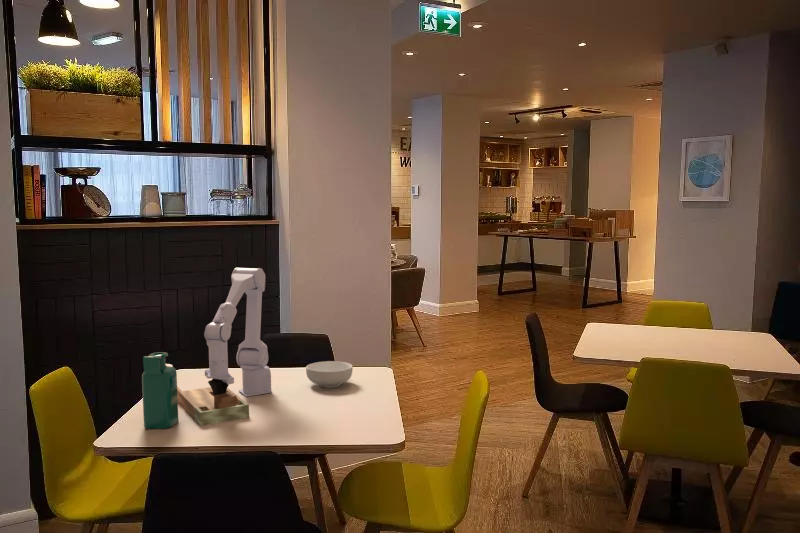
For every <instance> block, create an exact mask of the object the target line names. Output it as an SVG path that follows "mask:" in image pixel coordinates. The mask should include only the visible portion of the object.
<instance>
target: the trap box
mask: <svg viewBox="0 0 800 533" xmlns="http://www.w3.org/2000/svg"><path fill="white" fill-rule="evenodd" d="M227 392H228V393H231V394H234V395H236V397H237V406H232V407H226V408H220V409H215V408H214V394H213V391H212V388H211V386H208V387H203V388H195V389H189V390H181V388H180V387H178V386H177V397H178V404H180V406H181V407H182V408H183V409H184V411H186V412H187V413H188V414H189V415H190V416H191V417H192V418H193V419H194V420H195V422H196V423H197V424H198V425H199V426H200V427H201V426H202V425H203V426H208V425H213V423H214V424H219V423H224V422H231V421H234V420H235V421H236V420H240V419H241V420H243V419H246V418H250V404H249V403H248V402H246V401H245V400H244V399H243V398H241V397H240V396H239V395H238V394H236V393H235V392H233V391H232V390H231V389H230V388H228V387H227V390H226V393H227Z"/></svg>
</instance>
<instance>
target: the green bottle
mask: <svg viewBox="0 0 800 533" xmlns="http://www.w3.org/2000/svg"><path fill="white" fill-rule="evenodd" d="M168 356H169V354H168V352H164V351H161V352H160V351H159V352H153V353H150V354H148V356H147V355H144V356H143V357H142V363H143V373H142V374H141V384H142V385H141V386H142V387H141V390H142V409H143V412H142V413H143V427H144V428H145V429H148V430H149V429H153V430H154V429H155V430H157V429H158V430H160V429H161V430H163V429H166V428H167V429H170V428H172V427H173V426H174V425H176V423H177V422H179V405H178V404H179V402H178V397H177V387H178V378H177V377H178V376H177V374H178V373H177V369H176V368H175V367H174V366H173V367H169V366H166V364H167V363H166V357H168ZM167 429H166V430H167Z"/></svg>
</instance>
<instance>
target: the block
mask: <svg viewBox="0 0 800 533" xmlns="http://www.w3.org/2000/svg"><path fill="white" fill-rule="evenodd" d="M236 395H237V394H236ZM236 395H234V394H231V393H228V392H227V393H223V394H219V395H215V396H214V408H215V409H220V408H226V407H232V406H237V397H236Z"/></svg>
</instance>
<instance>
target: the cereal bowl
mask: <svg viewBox="0 0 800 533" xmlns="http://www.w3.org/2000/svg"><path fill="white" fill-rule="evenodd" d="M353 368H354V367H353V364H351V363H349V362H346V361H337V360H332V361H331V360H326V361H318V362H313V363H309V364H307V365H306V366H305V374H306V376H307V378H308V380H309V381H310V382H312V383H313V384H316V385H318V386H319V387H320V388H324V389H325V388H326V389H327V388H329V389H331V387H332V388H336V387H340V386H341V385H342V384H344V383H347V382H348V381H349V380H350V378H351V377H352V375H353V371H354V370H353Z"/></svg>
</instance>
